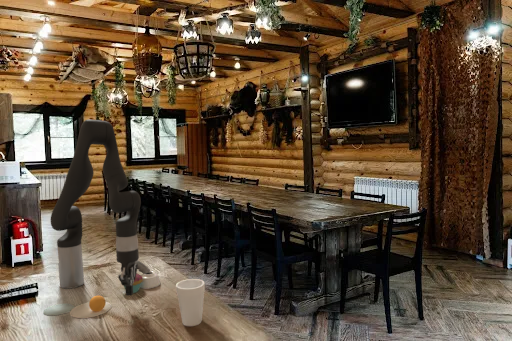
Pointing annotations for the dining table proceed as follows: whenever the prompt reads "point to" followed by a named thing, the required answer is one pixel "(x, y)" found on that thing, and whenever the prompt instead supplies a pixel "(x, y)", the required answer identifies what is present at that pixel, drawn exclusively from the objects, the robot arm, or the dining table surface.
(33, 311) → the dining table surface
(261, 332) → the dining table surface
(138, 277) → the cupcake
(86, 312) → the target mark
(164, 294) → the dining table surface
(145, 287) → the inkwell
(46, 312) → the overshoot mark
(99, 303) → the ball
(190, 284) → the foam cup
